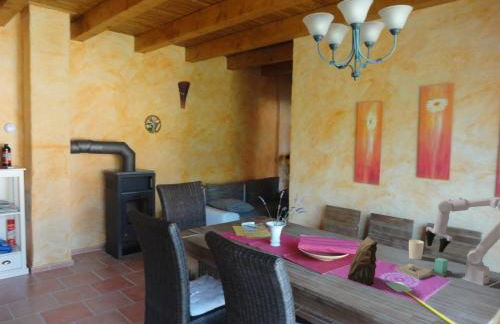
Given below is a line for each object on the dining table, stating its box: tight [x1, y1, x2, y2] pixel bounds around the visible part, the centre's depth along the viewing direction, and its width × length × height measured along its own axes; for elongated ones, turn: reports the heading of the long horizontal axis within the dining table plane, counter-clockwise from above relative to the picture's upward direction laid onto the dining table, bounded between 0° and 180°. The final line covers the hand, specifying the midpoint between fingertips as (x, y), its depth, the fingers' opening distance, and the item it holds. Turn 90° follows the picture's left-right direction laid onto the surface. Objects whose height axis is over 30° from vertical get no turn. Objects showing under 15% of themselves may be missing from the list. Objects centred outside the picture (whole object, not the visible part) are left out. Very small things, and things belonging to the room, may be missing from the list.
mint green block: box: [433, 257, 449, 274], centre depth 184 cm, size 4×5×7 cm
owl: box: [346, 235, 378, 287], centre depth 172 cm, size 13×13×20 cm
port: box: [396, 263, 433, 280], centre depth 184 cm, size 12×12×3 cm
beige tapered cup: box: [408, 239, 425, 260], centre depth 208 cm, size 8×8×10 cm
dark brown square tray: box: [430, 268, 455, 279], centre depth 185 cm, size 9×9×2 cm
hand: (434, 248), depth 187 cm, fingers open, 7 cm apart
